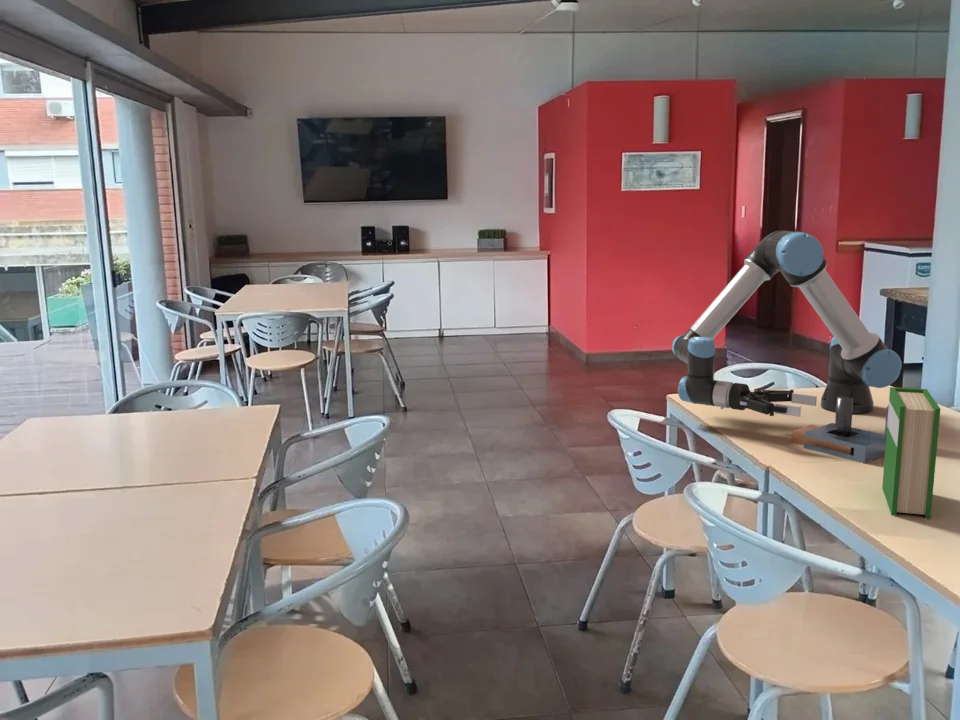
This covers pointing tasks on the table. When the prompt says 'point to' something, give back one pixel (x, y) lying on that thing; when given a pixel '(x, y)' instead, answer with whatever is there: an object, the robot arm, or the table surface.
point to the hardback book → (910, 451)
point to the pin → (843, 416)
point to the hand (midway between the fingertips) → (808, 406)
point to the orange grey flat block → (841, 442)
